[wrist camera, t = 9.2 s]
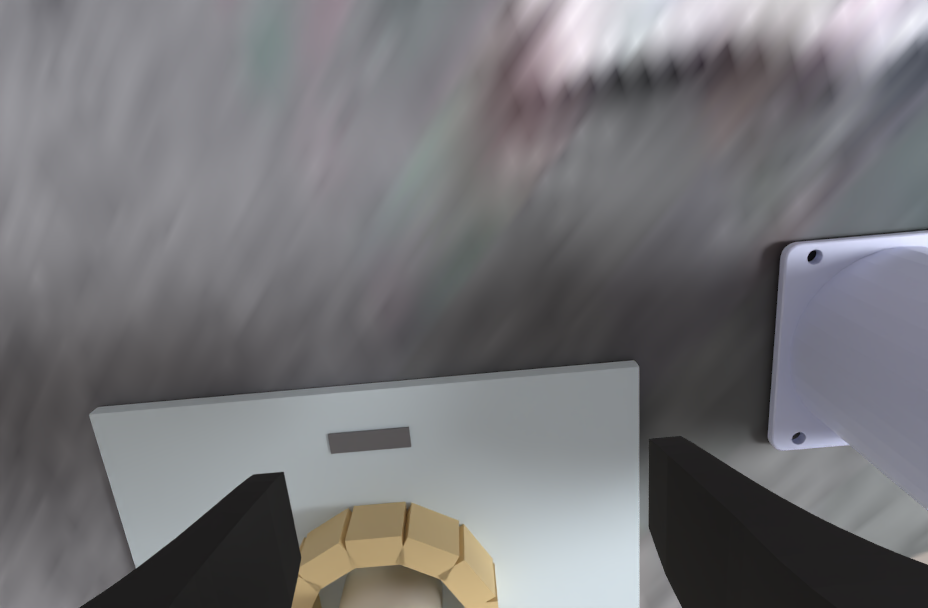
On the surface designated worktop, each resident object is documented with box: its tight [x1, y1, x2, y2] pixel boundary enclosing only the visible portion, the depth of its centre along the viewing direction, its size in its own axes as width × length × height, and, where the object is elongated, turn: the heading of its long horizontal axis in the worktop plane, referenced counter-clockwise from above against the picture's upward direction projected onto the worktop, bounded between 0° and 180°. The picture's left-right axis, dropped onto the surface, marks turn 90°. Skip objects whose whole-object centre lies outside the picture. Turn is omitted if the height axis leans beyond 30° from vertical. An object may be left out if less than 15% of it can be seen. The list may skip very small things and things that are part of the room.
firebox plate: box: [89, 360, 639, 608], centre depth 24 cm, size 20×18×3 cm
